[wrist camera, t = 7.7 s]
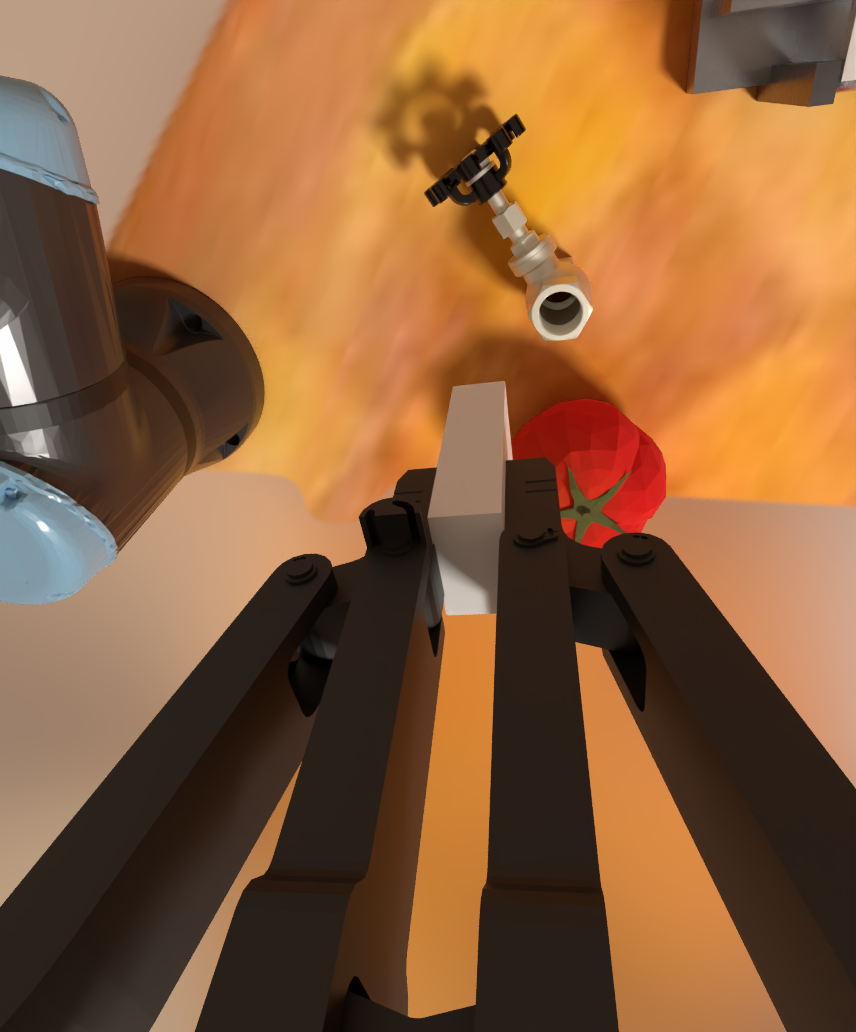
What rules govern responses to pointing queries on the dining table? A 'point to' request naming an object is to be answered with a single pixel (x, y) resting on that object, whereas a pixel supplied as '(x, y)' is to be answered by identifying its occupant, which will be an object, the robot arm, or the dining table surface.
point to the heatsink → (769, 48)
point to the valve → (521, 237)
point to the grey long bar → (848, 55)
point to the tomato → (596, 468)
